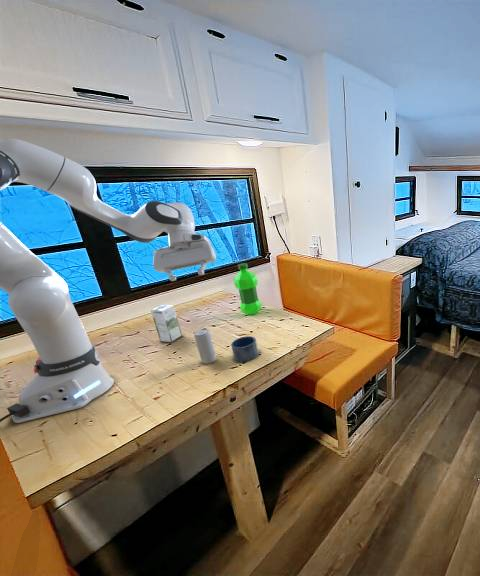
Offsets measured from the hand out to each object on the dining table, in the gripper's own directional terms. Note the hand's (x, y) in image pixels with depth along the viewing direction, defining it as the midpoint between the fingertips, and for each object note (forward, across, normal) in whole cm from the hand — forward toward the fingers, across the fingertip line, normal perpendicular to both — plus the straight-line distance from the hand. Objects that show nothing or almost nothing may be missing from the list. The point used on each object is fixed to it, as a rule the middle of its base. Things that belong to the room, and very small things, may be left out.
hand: (187, 277), depth 110 cm
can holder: (+31, +12, +12) cm, 36 cm away
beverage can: (+29, -1, +12) cm, 32 cm away
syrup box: (+12, -21, +29) cm, 38 cm away
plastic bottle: (+5, +9, +44) cm, 46 cm away
